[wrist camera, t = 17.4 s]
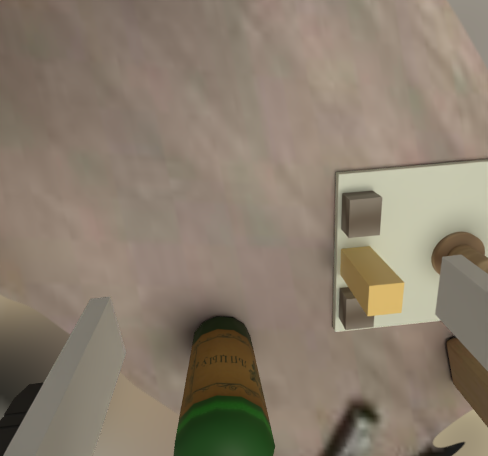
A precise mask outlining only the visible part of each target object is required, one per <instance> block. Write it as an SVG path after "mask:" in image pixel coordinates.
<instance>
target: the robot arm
mask: <svg viewBox="0 0 488 456" xmlns="http://www.w3.org/2000/svg"><path fill="white" fill-rule="evenodd" d="M435 315H436V316H437V317H438V318H439V319H440V320H441V321H442V322H443V323H444V324H445V326H446V327H447V328H448V329H449V330H450V331H451V332H452V333H453V334H454V335H455V336H456V337H457V339H458V340H459V341H460V342H461V343H462V344H463V345H464V346H465V347H466V348H467V349H468V351H469V352H470V353H471V354H472V355H473V356H474V357H475V358H476V359H477V360H478V361H479V362H480V364H481V365H482V366H483V367H484V368H485V369H486V370H487V371H488V274H487V273H486V272H485V271H483V270H482V269H480V268H479V267H478V266H476V265H475V264H474V263H472V262H471V261H469V260H468V259H467V258H465V257H464V256H463V255H453V256H444V257H442V263H441V271H440V279H439V287H438V295H437V303H436V310H435ZM125 354H126V351H125V347H124V343H123V340H122V336H121V333H120V329H119V325H118V322H117V318H116V315H115V311H114V307H113V304H112V300H111V297H102V298H94V299H90V301H89V303H88V304H87V306H86V308H85V310H84V312H83V313H82V315H81V317H80V319H79V321H78V322H77V324H76V326H75V328H74V330H73V331H72V333H71V335H70V337H69V339H68V341H67V342H66V344H65V346H64V348H63V349H62V351H61V353H60V355H59V357H58V358H57V360H56V362H55V364H54V365H53V367H52V369H51V371H50V373H49V375H48V376H47V378H46V380H45V381H44V383H36V384H29V385H28V386H27V387H26V388H25V389H24V390H23V391H22V392H21V393H20V394H19V395H17V396H16V397H15V398H14V400H13V401H12V403H11V404H10V406H9V408H8V409H7V411H6V412H5V415H4V417H3V418H2V419H1V420H0V456H93V454H94V450H95V448H96V444H97V441H98V438H99V435H100V432H101V429H102V426H103V423H104V420H105V416H106V413H107V410H108V407H109V404H110V401H111V398H112V395H113V392H114V389H115V385H116V382H117V379H118V376H119V373H120V370H121V367H122V364H123V361H124V358H125Z"/></svg>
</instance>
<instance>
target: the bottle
mask: <svg viewBox="0 0 488 456" xmlns="http://www.w3.org/2000/svg"><path fill="white" fill-rule="evenodd" d="M174 448H175V449H174V456H273V454H274V449H275V444H274V439H273V435H272V431H271V426H270V422H269V417H268V413H267V408H266V404H265V400H264V395H263V391H262V386H261V382H260V377H259V373H258V369H257V364H256V360H255V355H254V351H253V346H252V342H251V337H250V335H249V333H248V331H247V329H246V327H245V325H244V324H242V323H240V322H239V321H237V320H236V319H234V318H229V317H215V318H213V319H210V320H207V321H205V322H203V323H202V324H201V325H200V327H199V328H198V329H197V330H196V331H195V333H194V338H193V344H192V350H191V355H190V361H189V367H188V372H187V378H186V383H185V389H184V395H183V400H182V406H181V412H180V417H179V423H178V429H177V434H176V440H175V447H174Z"/></svg>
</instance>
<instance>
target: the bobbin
mask: <svg viewBox="0 0 488 456" xmlns="http://www.w3.org/2000/svg"><path fill="white" fill-rule="evenodd" d="M453 255H463V256H464V257H465V258H467V259H468V260H469V261H471V262H472V263H474V264H475V265H476V266H478V267H479V268H480V269H482V270H483V271H485V272H486V273H487V274H488V257H486V256H485V247H484V244H483V243H482V241H481V240H480V239H479V238H478V237H476V236H474V235H472V234H471V233H468V232H455V233H452V234H449V235H447V236H446V237H444V238H443V239H442V240H441V241H440V242H439V243H438V244H437V245H436V247H435V248H434V250H433V253H432V257H431V262H432V266H433V268H434V270H435V271H436V272H437V273H438V274H439V275H440V271H441V263H442V257H444V256H453Z"/></svg>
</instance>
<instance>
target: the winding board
mask: <svg viewBox="0 0 488 456" xmlns="http://www.w3.org/2000/svg"><path fill="white" fill-rule="evenodd" d="M362 191H374V192H376V193H377V194H379V195H380V196H382V211H381V225H380V235H375V236H365V237H354V238H348V237H347V236H346V234H345V233H344V232H343V231H342V230H341V216H342V193H351V192H362ZM455 232H468V233H471V234H472V235H474V236H476V237H478V238H479V239H480V240H481V241H482V243H483V244H484V247H485V256H486V257H488V159H483V160H472V161H460V162H449V163H437V164H426V165H415V166H403V167H392V168H380V169H369V170H358V171H346V172H336V189H335V240H334V290H333V328H334V331H335V332H338V331H348V330H345V328H344V326H343V324H342V323H341V321H340V319H339V291H340V288H344V287H348V286H347V284H346V283H345V281H344V280H343V278H342V277H341V275H340V266H341V249H345V248H355V247H365V246H370V247H371V248H372V249H373V250H374V251H375V252H376V253H377V254H378V255H379V256H380V257H381V258H382V259H383V260H384V262H385V263H386V264H387V265H388V266H389V267H390V268H391V269H392V270H393V271H394V272H395V273H396V274H397V275H398V276H399V277H400V278H401V279H402V280H403V281H404V282H405V283H404V293H403V303H402V313H395V314H385V315H376V316H374V327H370V328H377V327H386V326H396V325H405V324H415V323H424V322H434V321H441V320H440V319H439V318H438V317H437V316H436V315H435V310H436V303H437V295H438V287H439V279H440V275H439V274H438V273H437V272H436V271H435V270H434V268H433V266H432V262H431V257H432V253H433V250H434V248H435V247H436V245H437V244H438V243H439V242H440V241H441V240H442V239H443V238H444V237H446V236H447V235H449V234H452V233H455ZM360 329H367V328H360ZM351 330H357V329H351Z"/></svg>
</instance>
